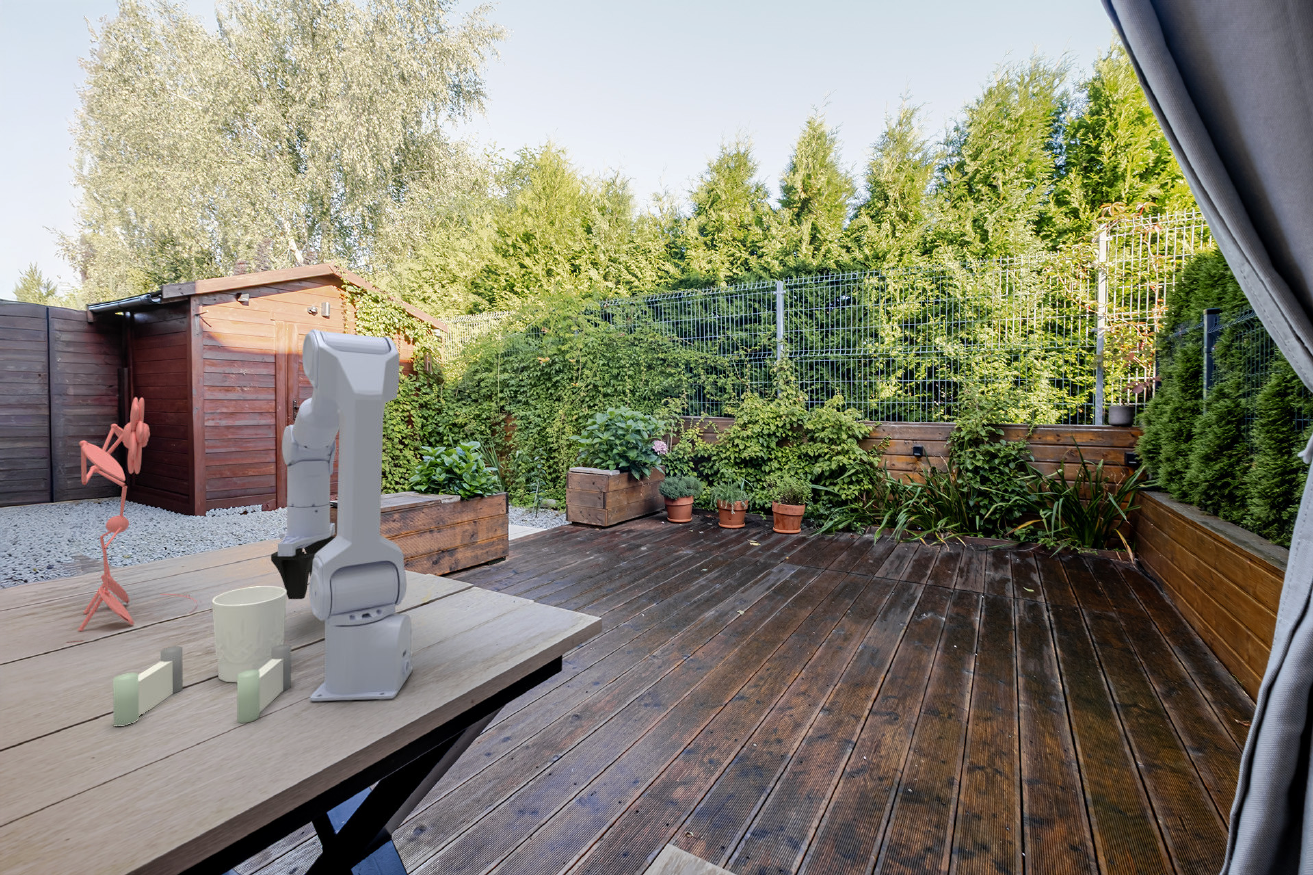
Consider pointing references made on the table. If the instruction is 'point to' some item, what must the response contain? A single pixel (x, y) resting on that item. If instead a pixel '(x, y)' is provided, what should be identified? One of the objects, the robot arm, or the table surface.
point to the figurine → (134, 440)
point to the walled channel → (167, 679)
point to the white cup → (247, 628)
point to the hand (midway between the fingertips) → (308, 590)
